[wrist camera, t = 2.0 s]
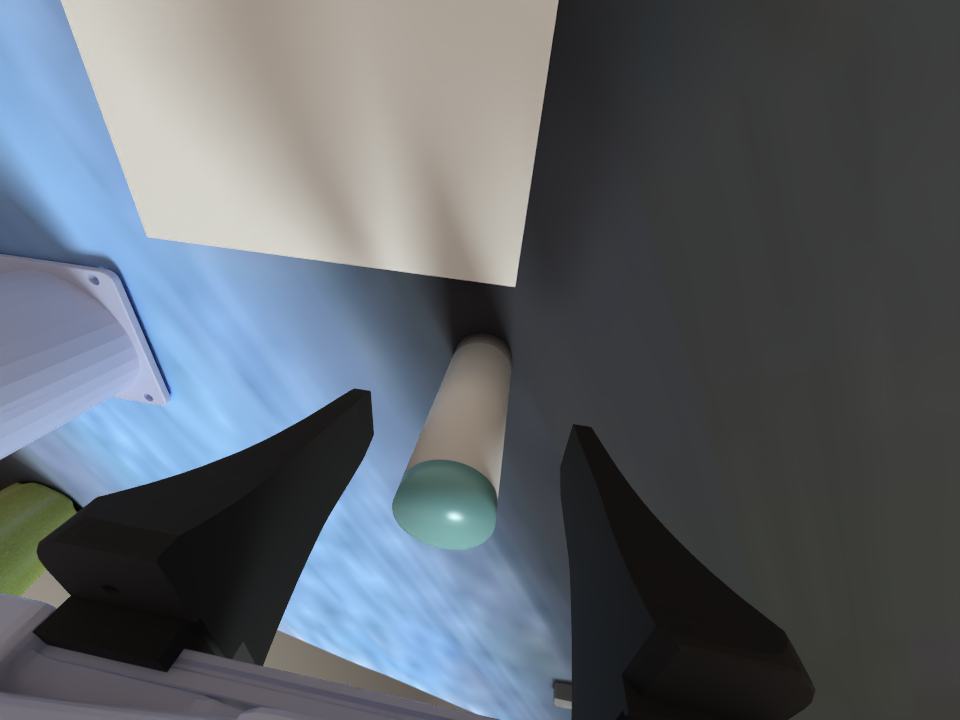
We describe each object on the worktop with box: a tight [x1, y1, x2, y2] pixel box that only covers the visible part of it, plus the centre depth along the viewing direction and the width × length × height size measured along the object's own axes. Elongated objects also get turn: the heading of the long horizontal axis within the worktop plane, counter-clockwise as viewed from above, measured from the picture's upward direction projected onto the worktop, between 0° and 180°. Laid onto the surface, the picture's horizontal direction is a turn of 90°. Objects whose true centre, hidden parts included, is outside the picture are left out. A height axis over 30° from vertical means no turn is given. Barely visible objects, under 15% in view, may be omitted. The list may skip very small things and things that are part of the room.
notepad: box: [61, 0, 559, 287], centre depth 12 cm, size 16×12×1 cm
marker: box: [392, 333, 512, 550], centre depth 13 cm, size 3×3×9 cm
